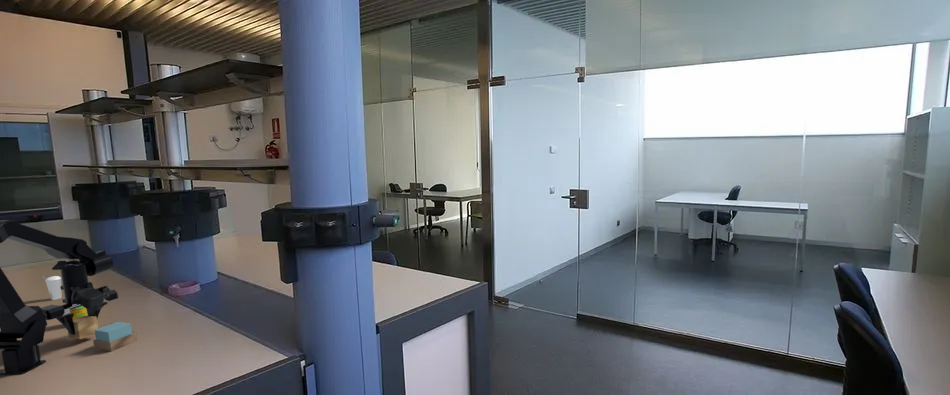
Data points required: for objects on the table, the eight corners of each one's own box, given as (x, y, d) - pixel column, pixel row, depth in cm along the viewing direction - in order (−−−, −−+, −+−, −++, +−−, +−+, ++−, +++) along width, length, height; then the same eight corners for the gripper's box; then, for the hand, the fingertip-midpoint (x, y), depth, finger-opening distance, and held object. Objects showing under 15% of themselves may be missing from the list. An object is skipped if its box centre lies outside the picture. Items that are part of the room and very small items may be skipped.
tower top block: (109, 342, 126) (108, 332, 126) (96, 340, 128) (94, 330, 128) (132, 333, 132) (130, 323, 131) (119, 331, 134) (117, 321, 133)
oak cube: (80, 339, 132) (77, 323, 131) (68, 337, 133) (66, 321, 133) (98, 332, 136) (96, 316, 136) (87, 330, 138) (85, 315, 137)
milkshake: (49, 298, 179) (44, 274, 178) (66, 296, 181) (62, 272, 180) (43, 301, 175) (39, 277, 174) (61, 299, 177) (57, 274, 176)
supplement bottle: (76, 327, 146) (72, 298, 145) (63, 326, 147) (59, 298, 146) (93, 320, 151) (89, 292, 150) (81, 320, 153) (76, 292, 151)
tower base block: (111, 352, 126) (110, 342, 126) (94, 350, 128) (93, 340, 128) (137, 342, 133) (135, 332, 132) (120, 340, 135) (119, 330, 135)
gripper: (56, 292, 122) (64, 347, 123) (127, 273, 139) (134, 321, 141) (29, 290, 125) (38, 343, 127) (102, 271, 143) (109, 318, 144)
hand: (83, 331), depth 135 cm, fingers closed on oak cube, 5 cm apart
